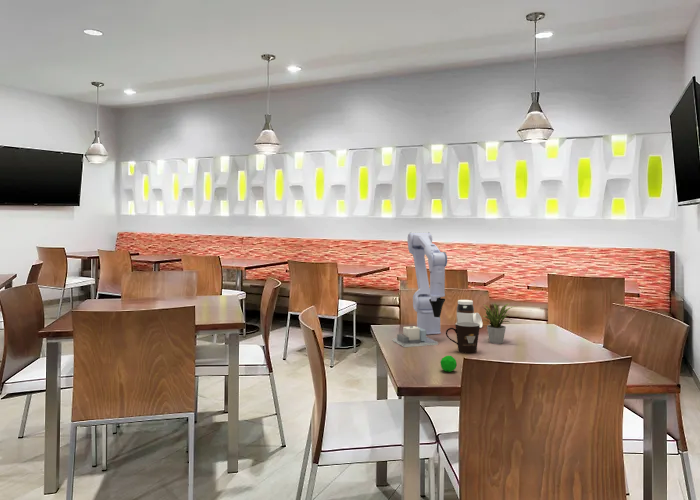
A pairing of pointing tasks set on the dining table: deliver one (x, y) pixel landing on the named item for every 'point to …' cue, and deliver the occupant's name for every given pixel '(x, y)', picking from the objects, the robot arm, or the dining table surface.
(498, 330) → the house plant
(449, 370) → the polyhedron
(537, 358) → the dining table surface
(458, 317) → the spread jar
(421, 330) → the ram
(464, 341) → the coffee mug
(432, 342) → the press frame
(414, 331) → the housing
